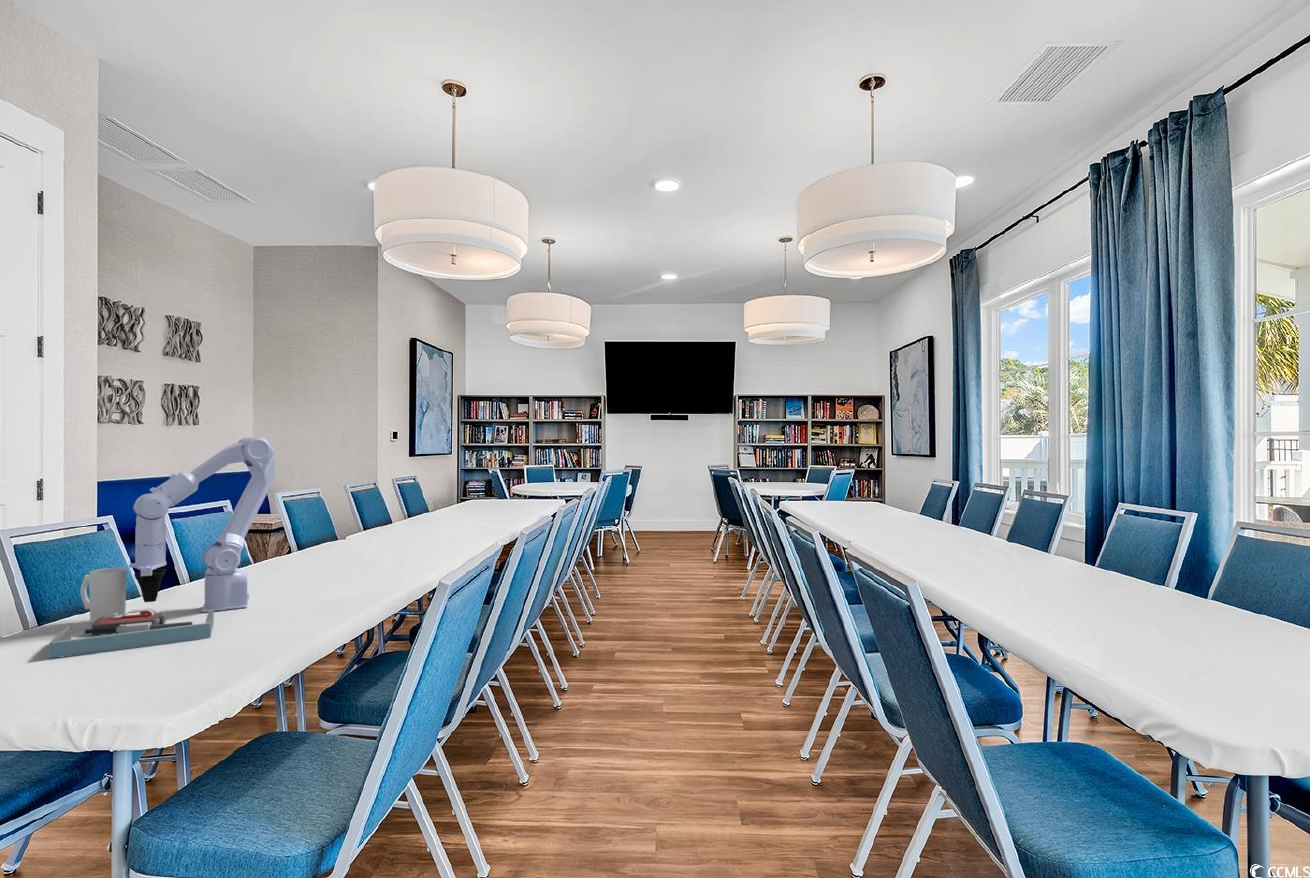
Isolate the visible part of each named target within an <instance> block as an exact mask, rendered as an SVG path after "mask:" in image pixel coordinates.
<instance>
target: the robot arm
mask: <svg viewBox="0 0 1310 878" xmlns="http://www.w3.org/2000/svg"><path fill="white" fill-rule="evenodd" d="M275 454H276V453H275V450H274V448H273V447H272V445H271V443H270V442H269V441H268V440H267V439H265V438H263V437H257V436H256V437H255V436H254V437H242V438H241V439H239V440H238V441H237V442H234V443H232V444H230V445H228V446H226V447H225V448H223V449H221V450H220V451H219V452H217V453H216V454H214V455H213V456H211V457H210V458H209V459H207V460H206V461H204V462H203V463H202V464H200V465H198V466H197V467H196V468H194V469H193V470H191V471H190V472H179V473H172V474H170V475H169V476H168V478H169V479H167V480H165V481H164V482H162V483H161V484H160V485H158V486H156V487H151V488H149V491H150V492H151V493H145V494H142V495H140V496H139V497H138V498H137V499H136V500H135V502H134V504H133V506H132V507H133V508H132V509H133V511H134V513H135V514H136V518H135V522H136V525H135V539H134V540H135V548H134V551H135V553H134V558H135V559H134V560H135V563H129V564H128V568H131V569H132V568H135V569H137V570H139V571H137V572H135V573H134V578H135V580H136V581H137V582H138V585H139V588H140V591H141V595H142V600H143V602H144V603H150V602H151V603H153V602H156V601H157V598H158V594H159V590H160V585H161V582H162V579H163V577H164V575H165V573H166V571H167V569H166V568H161V567H165V566H167V561H166V552H167V550H166V547H167V546H166V543H167V542H166V541H167V540H166V536H167V535H166V533H167V528H166V526H167V524H166V514H168V511H169V509H170V507H174V506H177V504H179V503H180V502H182V501H184V500H185V499H186V498H188V497H190V495H192V494H194V493H195V492H197V491H198V489H199V483H201V482H202V481H204V480H205V479H207V478H209V477H211V476H212V475H214V474H216V473H217V472H218V471H220V470H222V469H223V468H226V466H228V465H230V464H238V463H244V464H245V466H246V467H247V469H248V471H249V473H250V475H251V478H249V481H248V482H247V485H246V487H245V488H244V490H243V492H242V494H241V496H240V498H239V500H238V502H237V504H236V505H235V508H234V510H233V511H232V513H231V515H230V517H229V519H228V521H227V523H226V525H225V527H224V529H223V530H222V532H221V534H219V535H218V536H217V537H216V539H215V541H214V542H213V543H212V545H210V546H209V547H207V549H206V550H205V551H204V553H203V557H202V560H203V563H204V564H205V565H206V567H207V569H206V570H205V571H204V604H203V605H202V609H201V613H208V611H214V612H217V611H225V610H226V611H227V610H236V609H242V608H248V600H250V592H249V591H248V570H240V567H239V566H240V564H241V554H242V551H243V549H244V543H245V538H246V535H247V534H248V532H249V529H250V527H251V526H252V524H253V521H254V520H255V519H256V516H257V514H258V512H259V510H260V508H261V506H262V504H263V503H264V500H265V498H266V497H267V494H268V492H269V490H270V488H271V486H272V485H273V483H274V480H275V479H276V475H277V472H276V471H277V470H276V464H275ZM238 567H239V568H238Z"/></svg>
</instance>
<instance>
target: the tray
mask: <svg viewBox="0 0 1310 878" xmlns="http://www.w3.org/2000/svg"><path fill="white" fill-rule="evenodd" d="M214 613H215V611H208V612H207V615H206V619H205V621H204V622H203V623H196V624H194V623H193V625H185V626H177V627H169V628H161V629H153V630H145V631H136V632H128V633H120V634H107V635H96V636H88V637H82V638H80V637H79V638H73V639H72V627H71V626H69V627H64V628H63V629H62V630H61V631H60V632H59V633H58V634H57V635H56V636H55V637H54V638H53V639H52V640H51V641H49V643H48V659H49V658H51V659H56V658H55V657H59V658H62V657H61V656H66V657H70V656H69V655H74V656H79V655H81V656H82V655H87V654H95V653H102V652H110V651H111V652H112V651H117V650H118V649H119V650H125V649H126V648H127V649H133V647H134V648H140V647H141V648H142V647H148V646H155V645H157V646H158V645H163V644H171V643H178V642H186V641H192V640H193V641H194V640H201V639H207V638H208V639H209V638H212V637H211V636H212V633H213V629H212V628H214V625H215V624H214V616H215V615H214ZM127 649H126V650H127Z"/></svg>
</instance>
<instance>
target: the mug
mask: <svg viewBox="0 0 1310 878" xmlns="http://www.w3.org/2000/svg"><path fill="white" fill-rule="evenodd" d="M88 573H89V574H85V575H84V577H83V581H82V583H81V586H80V597H81V600H82V603H83V606H84V609H85V610H89V618H90V619H89V620H90V625H92V623H93V622H94V621H96V620H98V619H99V618H103V617H111V616H112V615H113V614H115V613H118V614H117V615H124V614H126V609H127V607H126V606H127V605H126V603H127V600H126V599H127V568H126V567H109V568H100V569H94V570H91V571H89V572H88ZM88 585H89V586H88ZM88 587H89V596H88V593H87V589H88Z"/></svg>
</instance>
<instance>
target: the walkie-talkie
mask: <svg viewBox="0 0 1310 878" xmlns="http://www.w3.org/2000/svg"><path fill="white" fill-rule="evenodd" d="M135 613H138V614H135ZM117 614H118V613H115V614H113V615H112V616H111V617H103V618H99V619H98V620H96V621H94V622H93V623H92V624H91V628H87V629H85V630H84V634H86V635H90V634H91V636H93V635H96V636H102V635H101V634H107V635H112V634H111V633H128V632H136V631H145V630H153V629H161V628H169V627H177V626H185V625H194V623H193V621H183V622H172V623H170V622H169V623H166V615H164V614H163V613H162V612H155V610H154V609H153V608H144V609H132V610H130V611H127V612H125V614H124V615H117Z"/></svg>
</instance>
